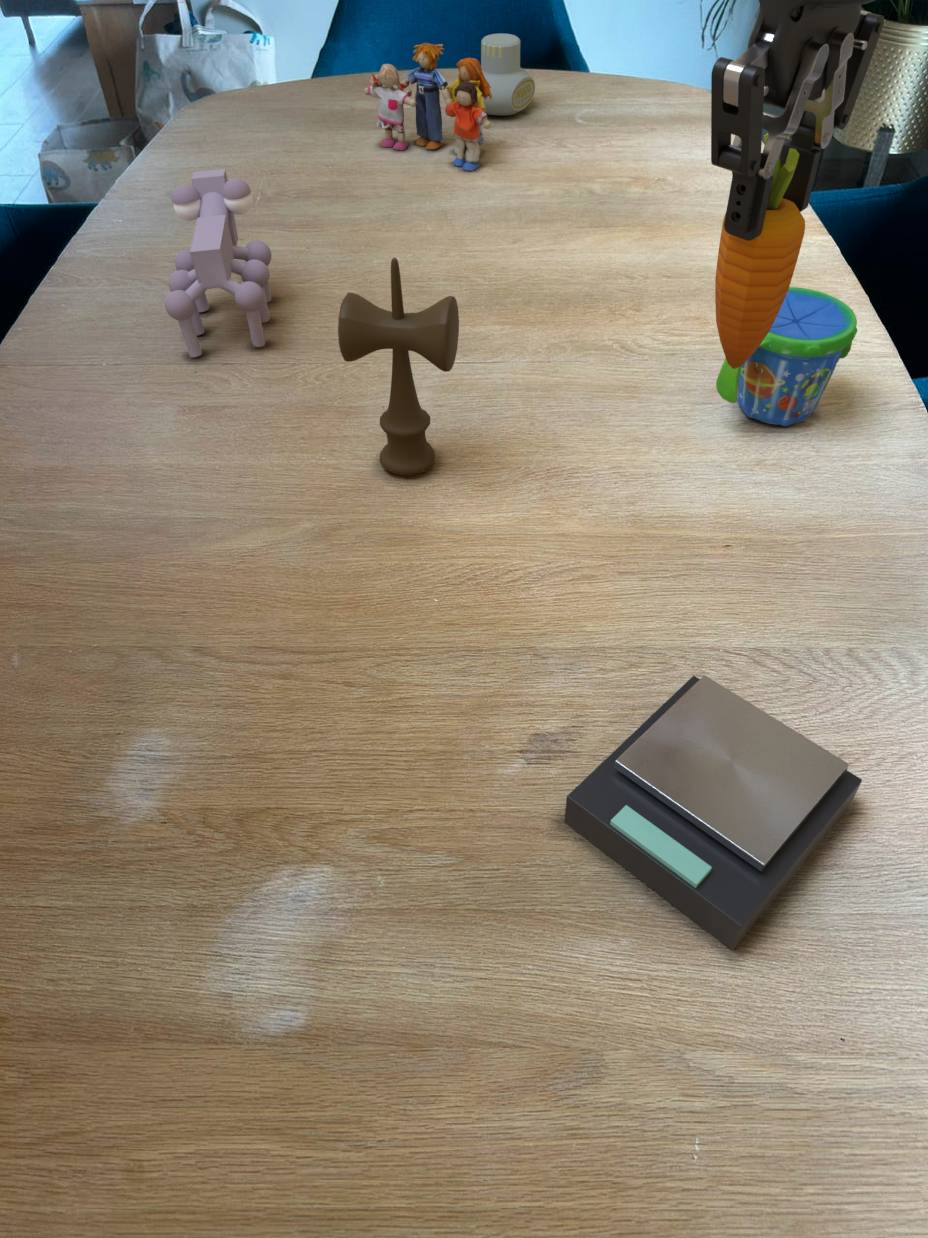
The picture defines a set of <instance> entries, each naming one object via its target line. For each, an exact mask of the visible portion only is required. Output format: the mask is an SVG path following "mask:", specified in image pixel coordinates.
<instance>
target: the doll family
mask: <svg viewBox="0 0 928 1238" xmlns="http://www.w3.org/2000/svg"><path fill="white" fill-rule="evenodd" d="M443 46H444V44H443V43H441V44H440V43H438V44H433V43H428V42H423V43H420V44H416V45H414V46H413V48H415V49H414V50H413V52H412V53H413V54H415V55H413V57H412V61H413V62H416V63H418V64H419V65H420V66H418V67H416V68H414V69H411V70H409V71H406V76H407V77H406V78H404V79H403V80H402V81H401V79H400V74H399V73H398V69H397V68H396V67H395V66H394V65H393V64H390V63H383V64H382V65H381V67H380V69H379V72H378V73H376V74H374V73H371V77H370V78H369V81H368V82H369V85H368V86H366V87H365V88H364V91H363V92H364V94H365V95H366V96H370V97H372V98H374V99H377V100H378V109H377V117H378V119H377V122H376V127H377V128H378V127H379V128H380V129H381V128H382V129H384V132H385V138H384V139H383V140H382V141H381V144H380V145H381V147H383V148H393V149H394V150H396V151H405V150H407V149H408V148H409V143H408V141H407V140H406V131H405V129H406V128H405V124H404V122H405V109H404V105H407V106H409V107H411V108H415V127H416V128H415V129H416V135H417V136H418V138H417V139H416V141H415V145H417V146H419V147H425V149H427V150H437V149H438V148H440V147H442V146H443V142H442V141H443V140H444V137H443V118H442V107H441V100H440V97H441V96H440V95H442V97H443V100H444V101H445V106H444V114H445V115H446V116H447V117H450V118H455V119H454V123H453V137H454V139H455V143H456V147H455V148H454V153H455V154H456V158H455V159H454V161H453V166H455V167H461V168H462V170H463V171H466V172H474V171H476V170H477V169H479V167H480V163H479V161H480V155H481V153H482V152H481V149H480V146H482V145H487V142H486V140H485V136H484V132H483V130H482V127H483V128H484V129H485V130H489V129H490V128H491V127H492V123H491V121H489V120H488V114H486V113H484V111H485V109H486V108H485V105H484V102H483V98H482V97H484V99H485V100H486V99H487V97H488V96H489V97H490V100H492V98H493V97H492V94H491V92H490V88H491V86H490V85H489V83H488V82H487V80H486V79H485V77H484V74H483V72H482V68H481V62H480V61H479V60H478V59H477V58H474V57H465V58H463V59H460V60H459V61H458V62H457V63H456V66H457V70H458V73H457V79H456V80H455V81H453V82H452V84H450V85H449V83H448V81H447V79H446V78H445V76H444V75H443V73H442V72H441V71H440V70H438V69H436V68H437V67H438V65H437V63H438V62H437V61H439V60H440V55H444V53H443V50H445V48H443ZM415 84H416V90H415V95H414V99H413V98H412V95H413V93H412V92H413V90H412V89H411V87H409V86H410V85H415ZM394 86H395V87H394ZM440 92H441V94H440ZM393 131H395V132H397V140H396V138H395V137H394V135H393Z"/></svg>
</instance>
